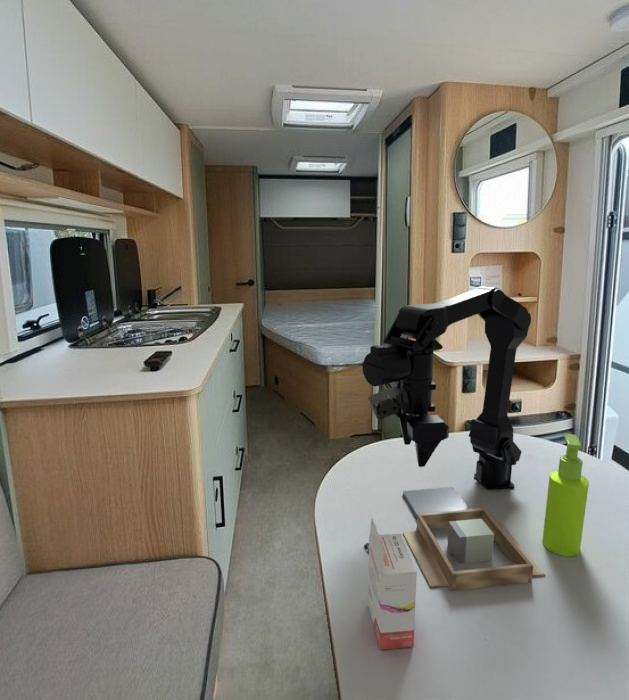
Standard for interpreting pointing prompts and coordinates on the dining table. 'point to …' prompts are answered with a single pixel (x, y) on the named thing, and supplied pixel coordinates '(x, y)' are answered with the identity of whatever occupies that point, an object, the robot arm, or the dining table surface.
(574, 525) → the soap dispenser
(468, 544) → the box
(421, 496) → the coaster
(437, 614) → the dining table surface
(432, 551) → the wooden frame
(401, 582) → the ink cartridge box
